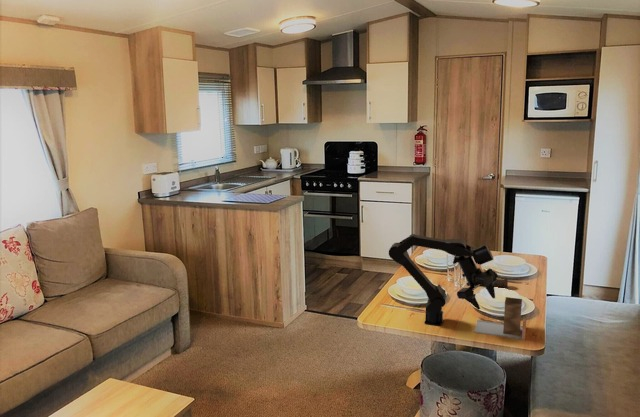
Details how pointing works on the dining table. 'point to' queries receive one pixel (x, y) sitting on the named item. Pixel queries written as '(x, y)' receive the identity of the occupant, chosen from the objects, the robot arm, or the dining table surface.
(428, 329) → the dining table surface
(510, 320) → the brown wooden block
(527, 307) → the dining table surface
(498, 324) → the bay
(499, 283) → the bolt
